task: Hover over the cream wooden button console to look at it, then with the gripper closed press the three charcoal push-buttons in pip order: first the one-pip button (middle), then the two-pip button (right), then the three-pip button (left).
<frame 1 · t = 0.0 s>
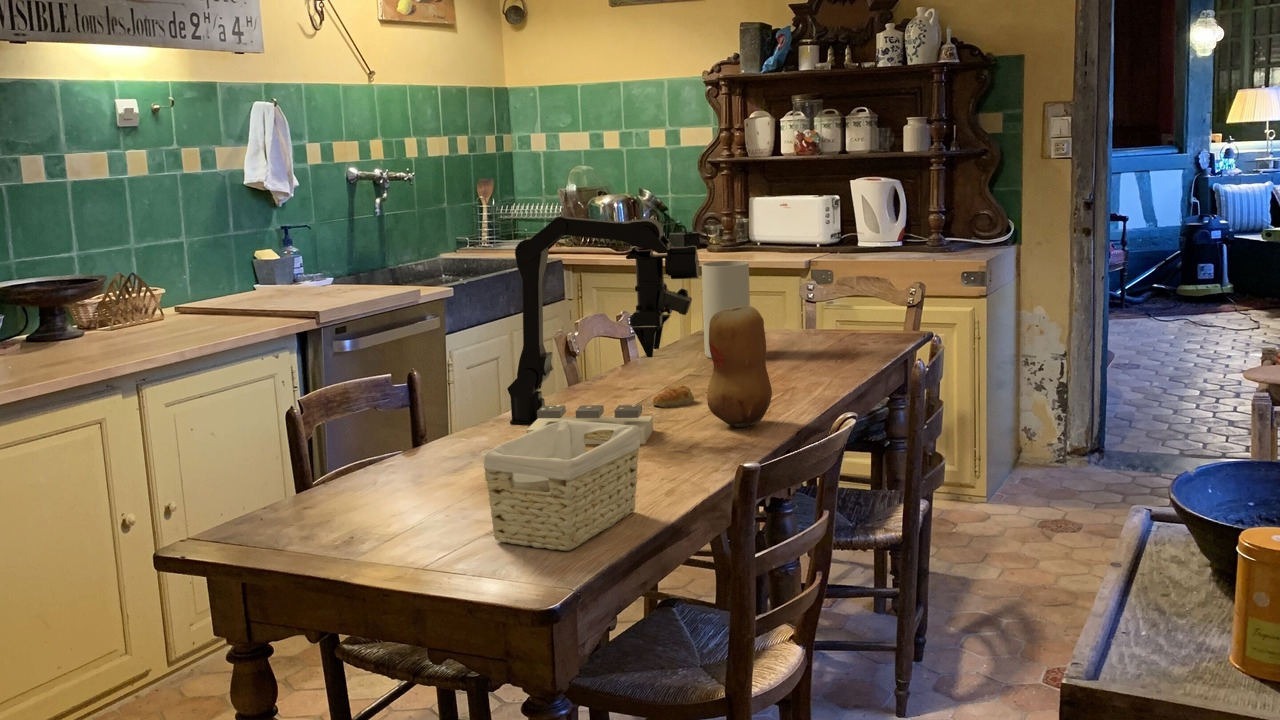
hand: (653, 353, 258), 15 cm above the table, tool pointing down, fingers open, 9 cm apart
console: (591, 437, 249), on the table
cylinder vase: (728, 356, 329), on the table
storage basket: (569, 528, 194), on the table
butternut squash: (741, 426, 253), on the table
pastry: (674, 405, 276), on the table
button two pips: (628, 411, 247), point 5 cm above the table, slide at 0.0 cm
button one pip: (589, 411, 248), point 5 cm above the table, slide at 0.0 cm
button three pips: (551, 411, 249), point 5 cm above the table, slide at 0.0 cm
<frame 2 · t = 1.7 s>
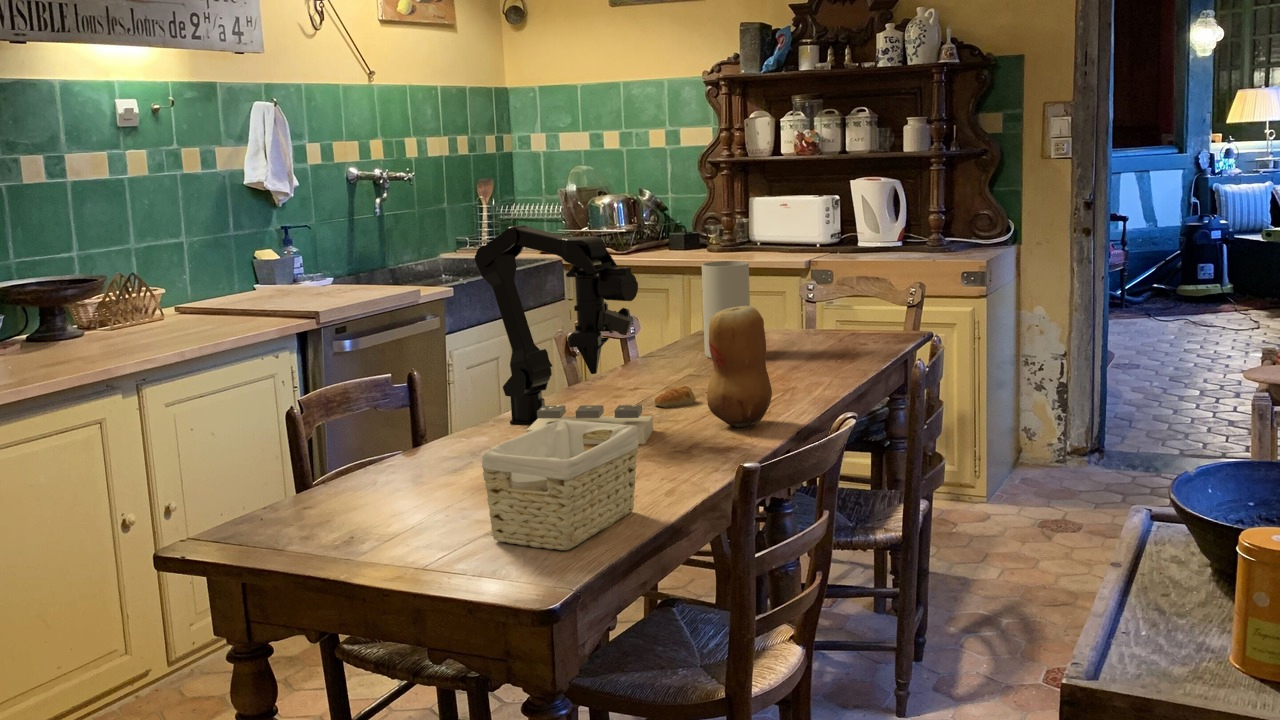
hand: (593, 373, 253), 12 cm above the table, tool pointing down, fingers closed
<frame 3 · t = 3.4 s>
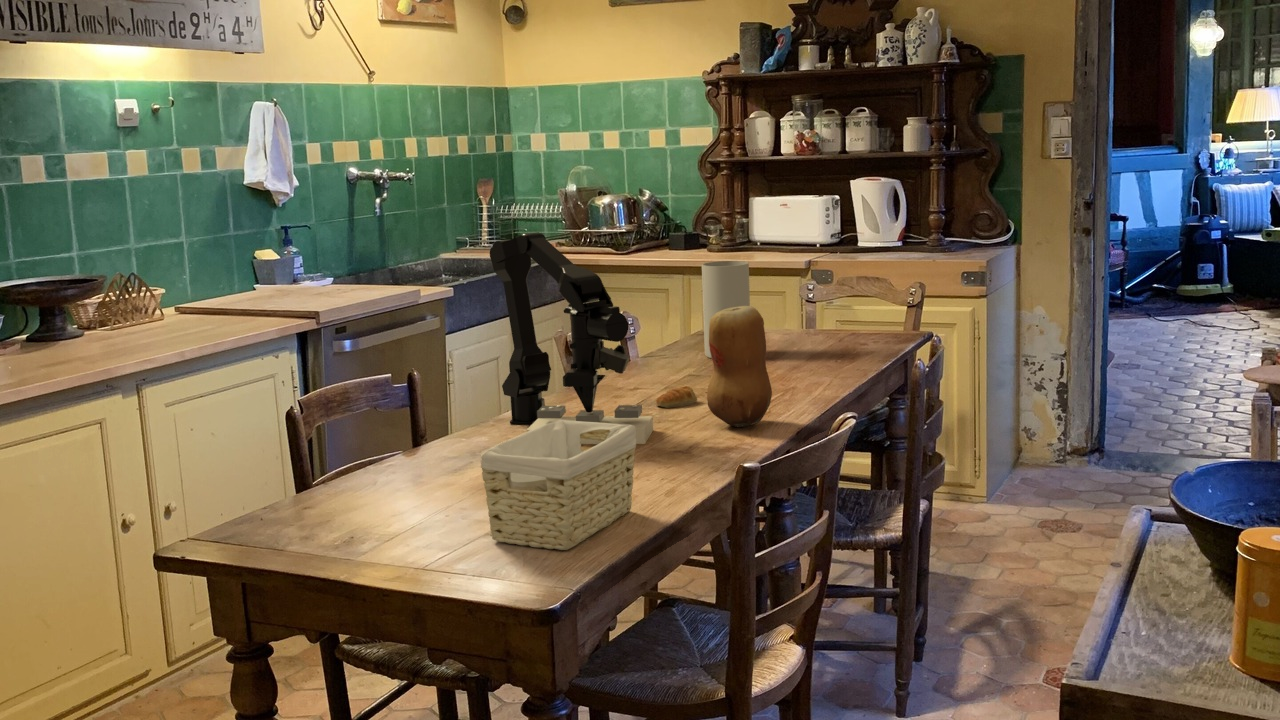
hand: (589, 412, 248), 5 cm above the table, tool pointing down, fingers closed, pressing on button one pip
button one pip: (590, 416, 248), point 4 cm above the table, slide at 1.0 cm, touching gripper
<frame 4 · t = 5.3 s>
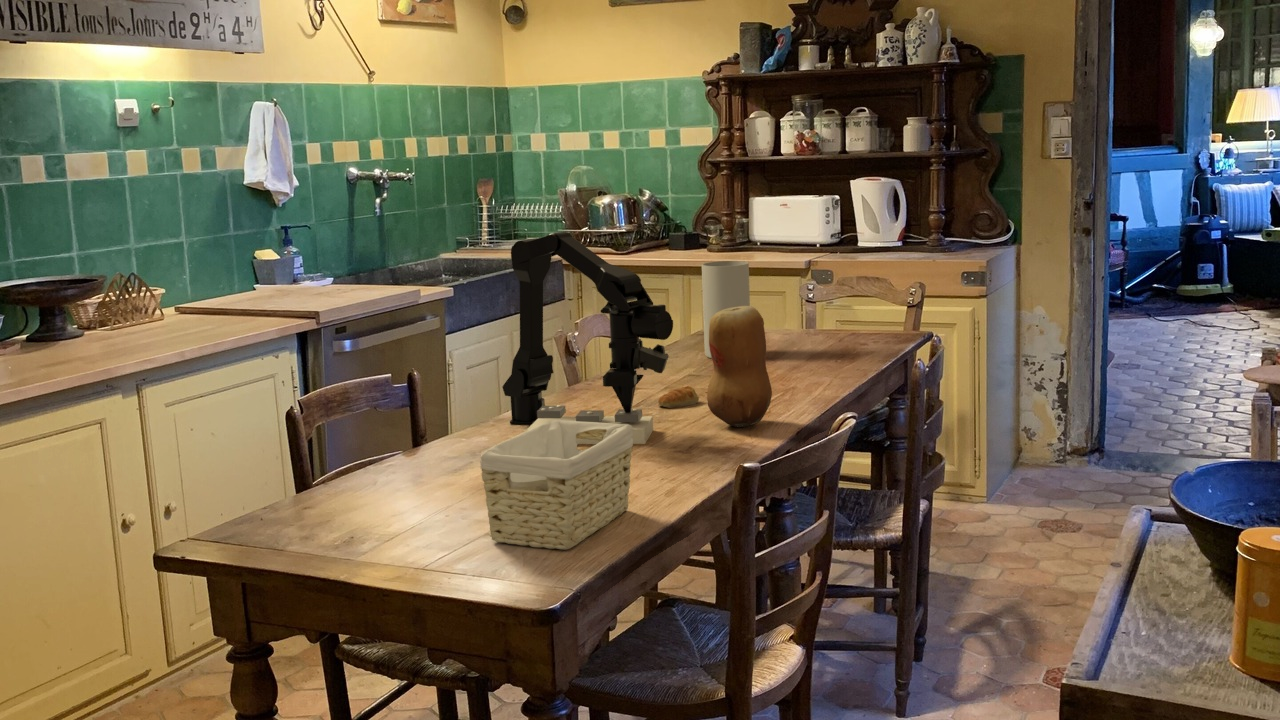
hand: (628, 412, 247), 5 cm above the table, tool pointing down, fingers closed, pressing on button two pips
button two pips: (628, 415, 247), point 5 cm above the table, slide at 0.8 cm, touching gripper
button one pip: (590, 416, 248), point 4 cm above the table, slide at 1.1 cm
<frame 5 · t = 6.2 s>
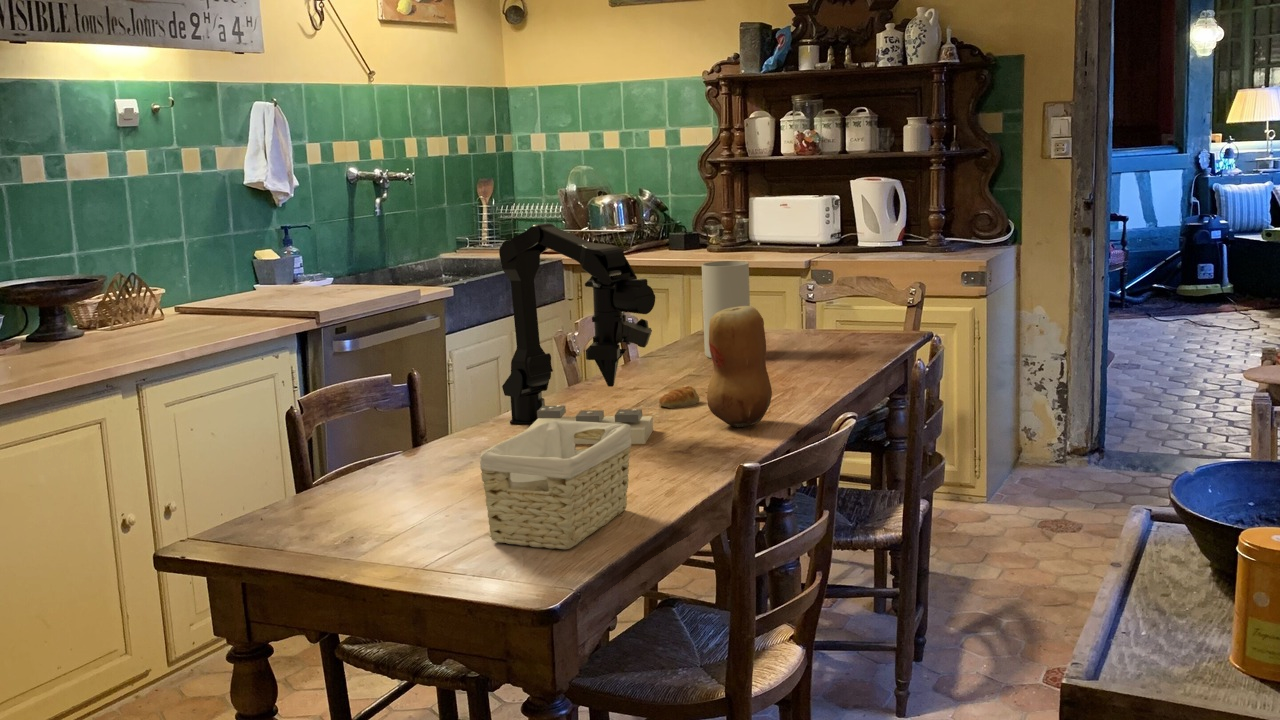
hand: (611, 386, 246), 11 cm above the table, tool pointing down, fingers closed
button two pips: (628, 415, 247), point 5 cm above the table, slide at 0.9 cm
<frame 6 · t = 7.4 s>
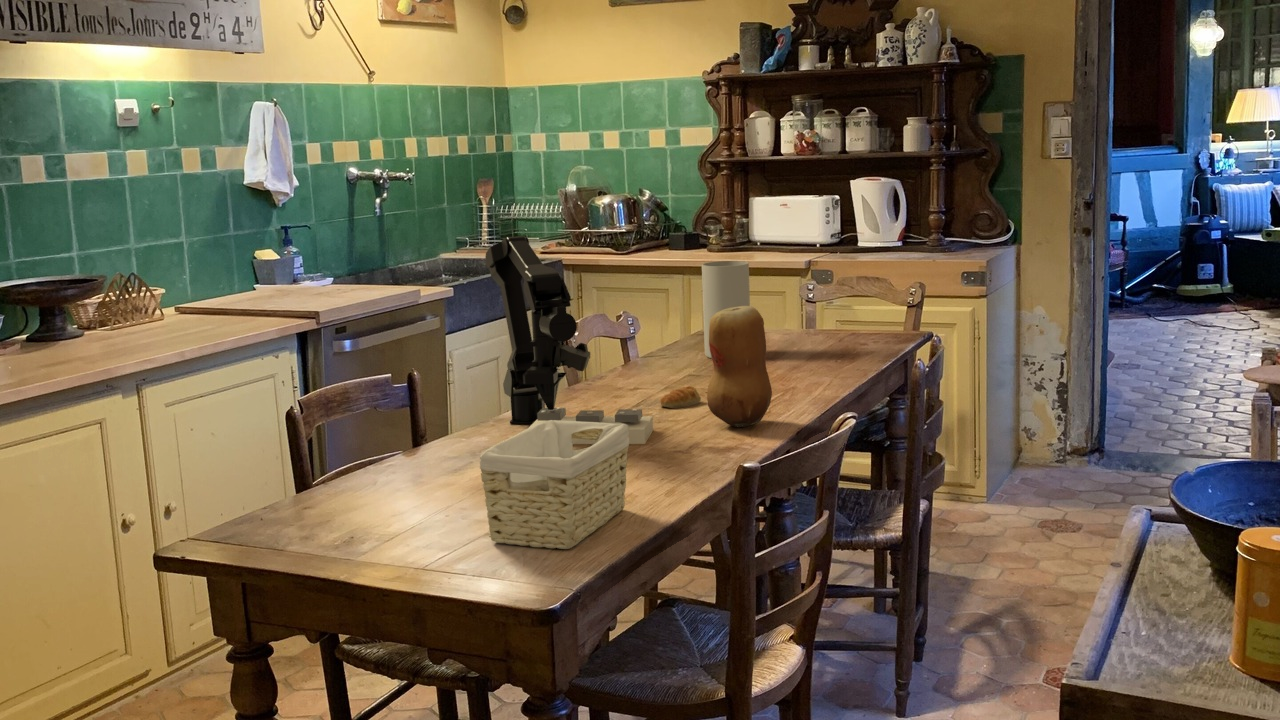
hand: (551, 409, 249), 6 cm above the table, tool pointing down, fingers closed, pressing on button three pips
button three pips: (551, 413, 249), point 5 cm above the table, slide at 0.5 cm, touching gripper
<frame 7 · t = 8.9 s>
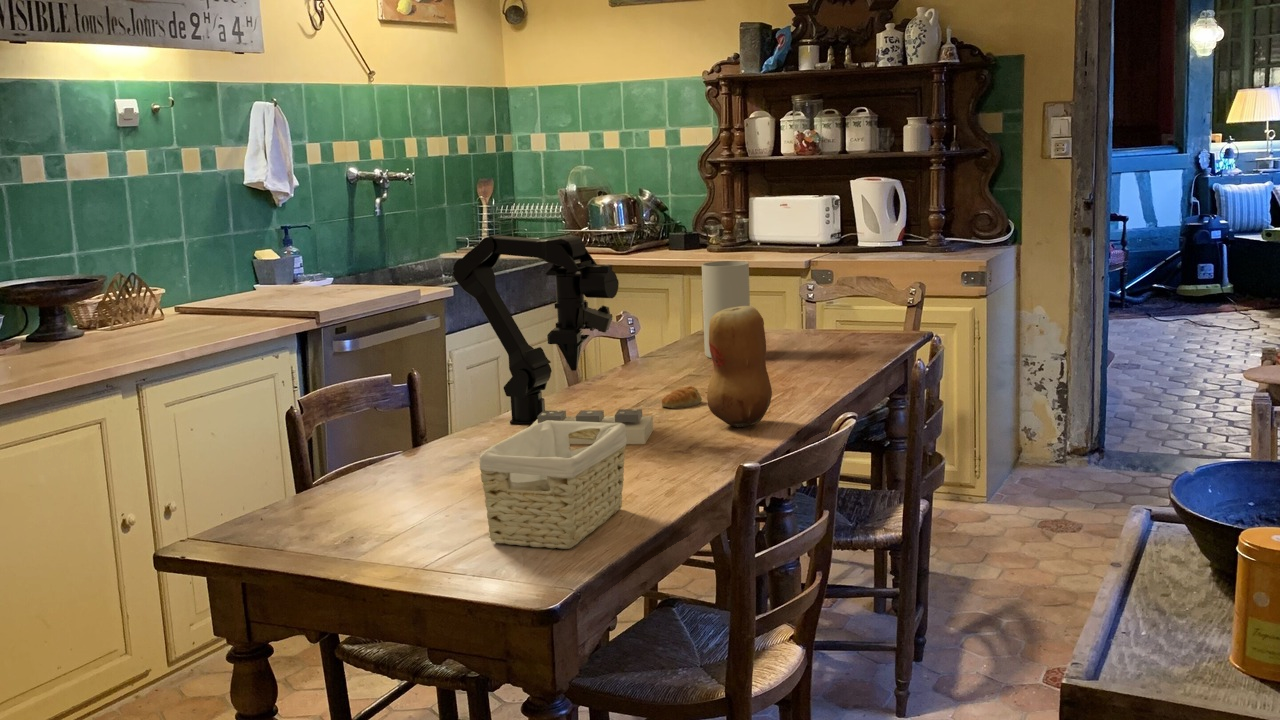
hand: (574, 370, 257), 12 cm above the table, tool pointing down, fingers closed
button three pips: (551, 416, 249), point 4 cm above the table, slide at 1.1 cm
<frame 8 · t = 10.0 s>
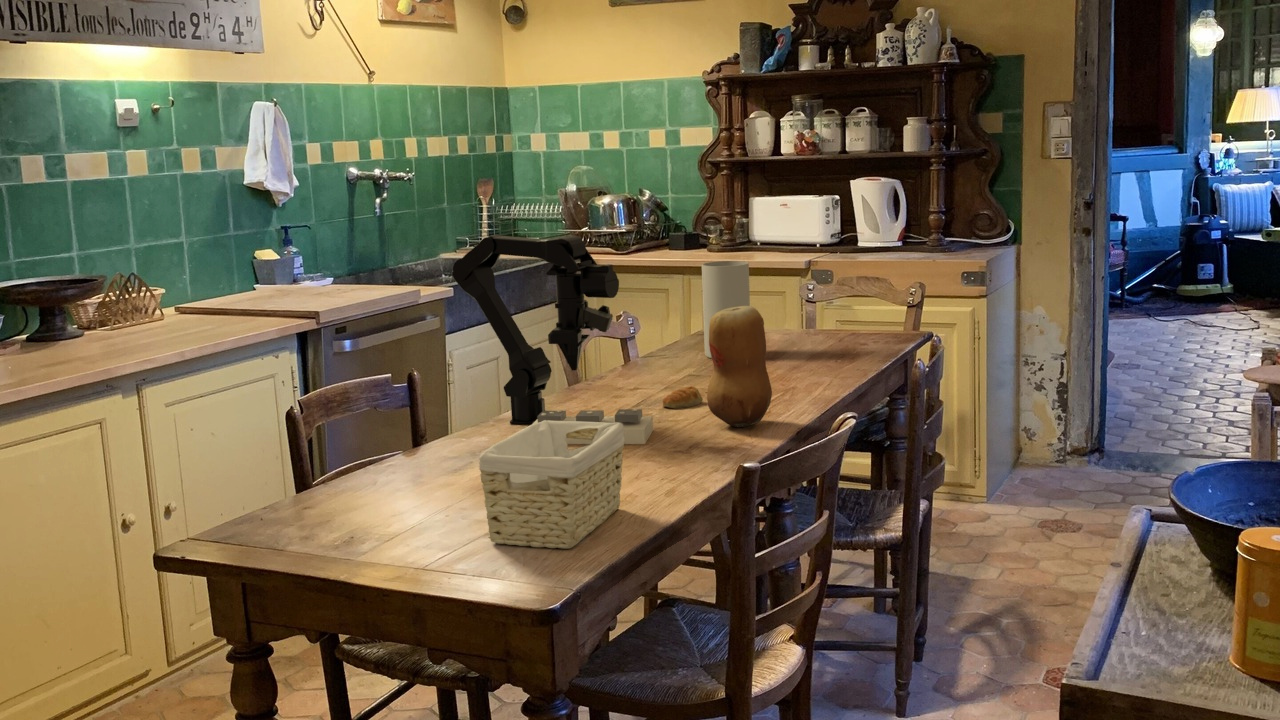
hand: (574, 370, 257), 12 cm above the table, tool pointing down, fingers closed
at the end: button one pip slide at 1.1 cm; button two pips slide at 0.9 cm; button three pips slide at 1.1 cm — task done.
